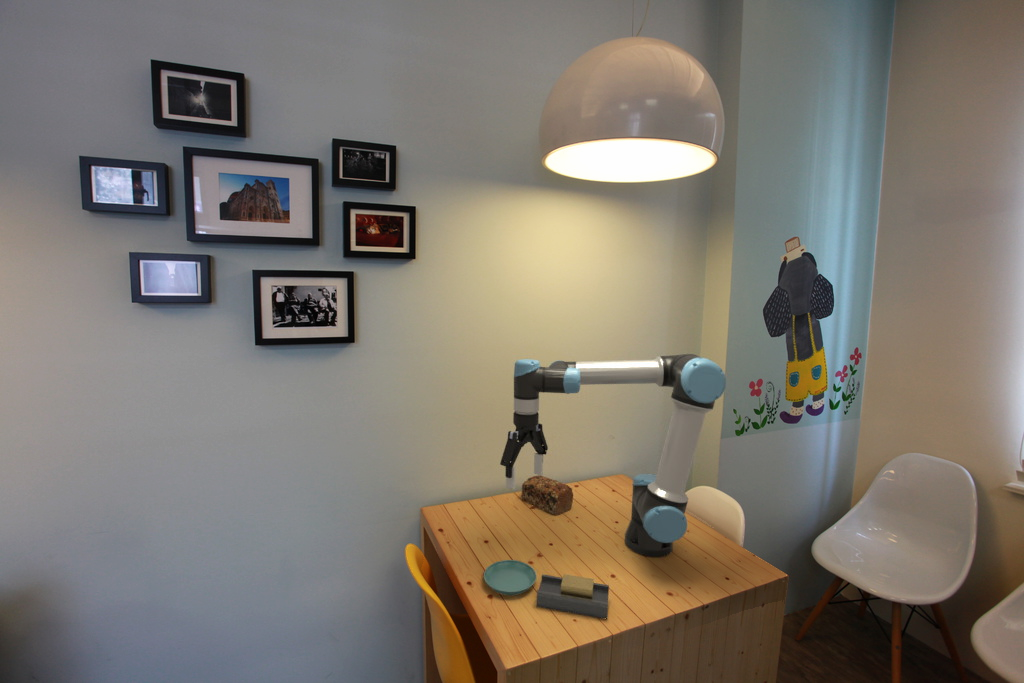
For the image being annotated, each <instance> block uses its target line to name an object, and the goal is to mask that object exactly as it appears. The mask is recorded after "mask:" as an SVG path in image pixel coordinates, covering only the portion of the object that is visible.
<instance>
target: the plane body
mask: <svg viewBox="0 0 1024 683" xmlns="http://www.w3.org/2000/svg"><path fill="white" fill-rule="evenodd" d="M562 579H563V576H561V577H560V576H555V575H549V574H543V573H542V574H541V580H540V584H539V587H538V590H536V604H535V605H536V607H537V608H543V609H547V610H551V611H552V610H553V611H558V612H564V613H568V614H569V613H570V614H576V615H581V616H586V617H593V618H596V617H598V618H597V619H602V618H606V619H605V620H608V618H609V617H608V615H609V594H610V593H609V592H610V585H609V584H605V583H604V584H603V583H598V582H594V584H593V597H592V600H591V599H586V598H580V597H574V596H568V595H562V594H561V583H562Z"/></svg>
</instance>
